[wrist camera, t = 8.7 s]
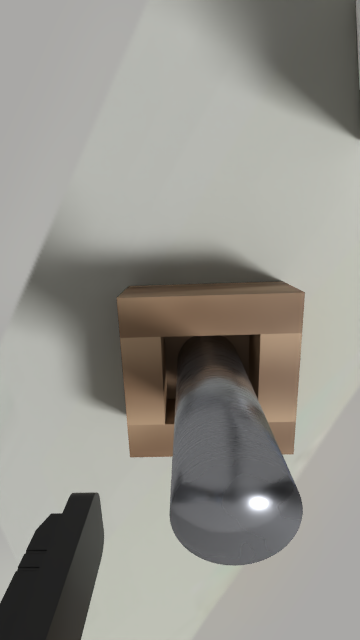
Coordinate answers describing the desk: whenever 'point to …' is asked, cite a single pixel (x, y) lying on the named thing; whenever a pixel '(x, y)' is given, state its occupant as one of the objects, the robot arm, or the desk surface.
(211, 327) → the bore block
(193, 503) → the peg
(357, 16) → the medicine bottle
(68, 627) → the robot arm
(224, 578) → the desk surface
